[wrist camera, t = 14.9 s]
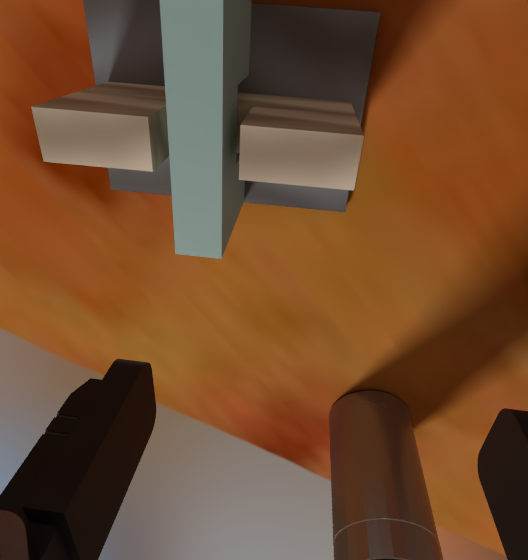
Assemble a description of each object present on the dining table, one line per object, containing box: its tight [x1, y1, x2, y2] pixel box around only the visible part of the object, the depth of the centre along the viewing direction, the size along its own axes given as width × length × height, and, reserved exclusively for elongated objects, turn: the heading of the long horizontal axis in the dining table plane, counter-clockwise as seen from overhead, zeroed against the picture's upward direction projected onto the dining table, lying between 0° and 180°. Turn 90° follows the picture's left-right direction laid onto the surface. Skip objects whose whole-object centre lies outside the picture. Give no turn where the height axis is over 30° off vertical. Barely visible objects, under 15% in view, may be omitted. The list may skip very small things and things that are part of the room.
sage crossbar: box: [160, 0, 252, 259], centre depth 27 cm, size 14×3×10 cm, turn 177°
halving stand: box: [31, 0, 381, 212], centre depth 28 cm, size 14×20×11 cm
